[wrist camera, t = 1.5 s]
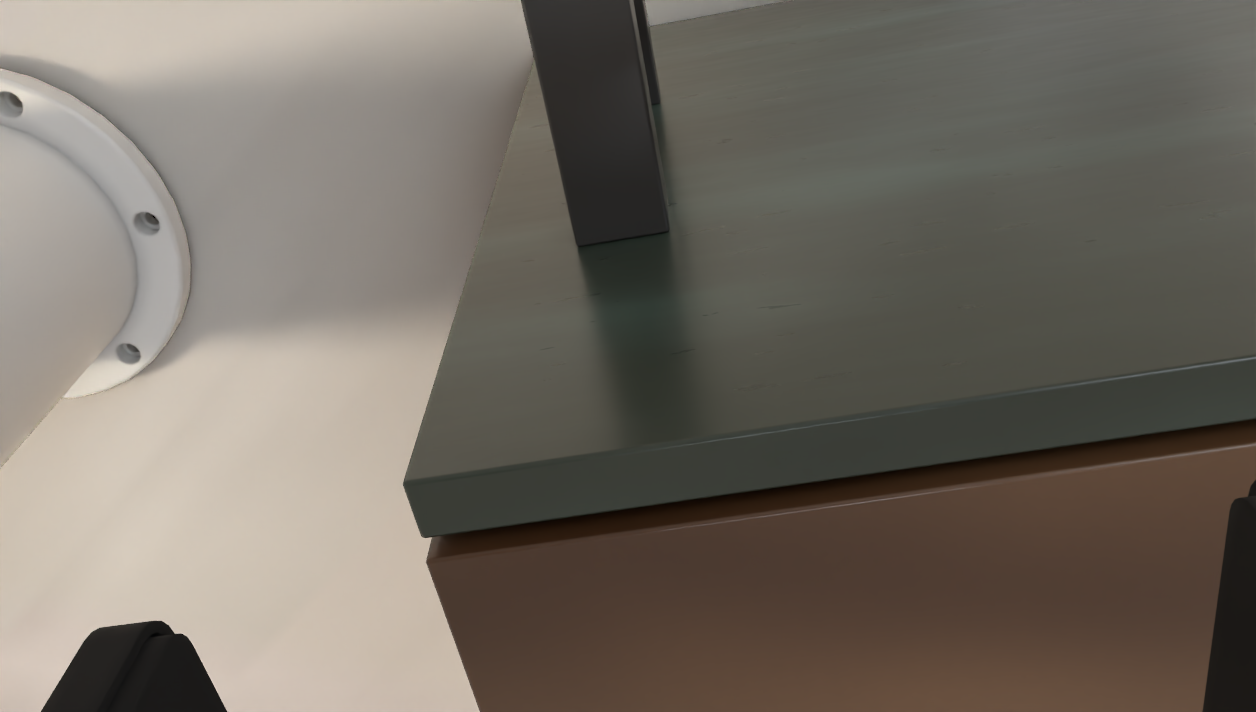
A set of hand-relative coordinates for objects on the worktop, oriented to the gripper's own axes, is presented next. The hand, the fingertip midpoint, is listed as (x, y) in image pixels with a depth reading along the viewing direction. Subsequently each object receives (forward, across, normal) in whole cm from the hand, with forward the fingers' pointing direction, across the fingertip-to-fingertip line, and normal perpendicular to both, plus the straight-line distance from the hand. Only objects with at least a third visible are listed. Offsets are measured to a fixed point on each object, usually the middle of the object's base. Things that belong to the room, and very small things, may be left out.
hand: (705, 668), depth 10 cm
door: (+28, -9, -2) cm, 30 cm away
